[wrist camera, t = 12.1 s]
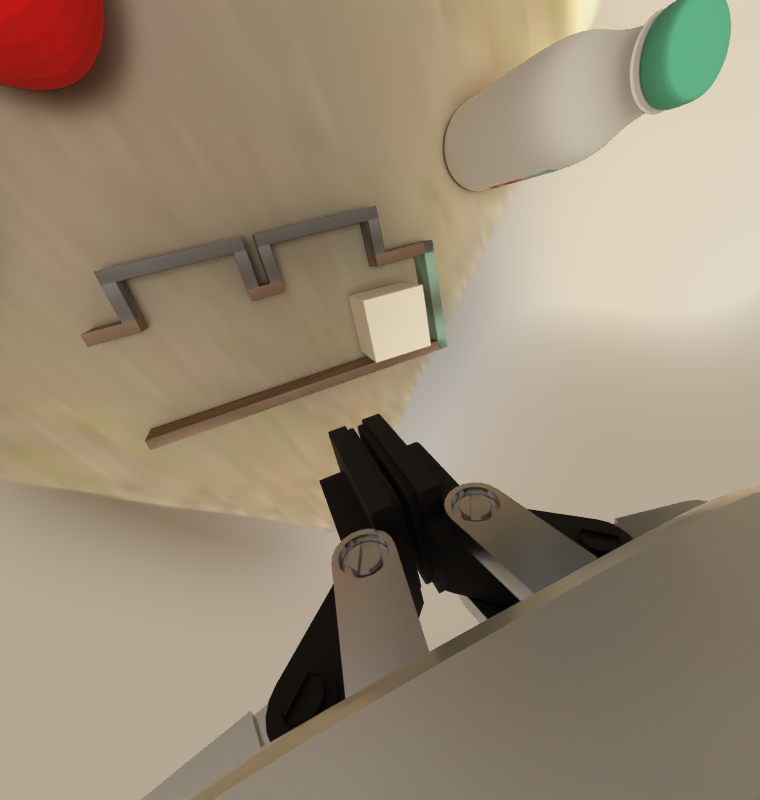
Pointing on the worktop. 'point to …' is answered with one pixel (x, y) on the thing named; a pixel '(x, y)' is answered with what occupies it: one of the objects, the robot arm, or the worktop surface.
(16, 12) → the tomato
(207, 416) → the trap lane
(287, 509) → the worktop surface
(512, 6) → the worktop surface
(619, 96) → the milk bottle
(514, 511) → the robot arm
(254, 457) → the worktop surface
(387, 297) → the block
